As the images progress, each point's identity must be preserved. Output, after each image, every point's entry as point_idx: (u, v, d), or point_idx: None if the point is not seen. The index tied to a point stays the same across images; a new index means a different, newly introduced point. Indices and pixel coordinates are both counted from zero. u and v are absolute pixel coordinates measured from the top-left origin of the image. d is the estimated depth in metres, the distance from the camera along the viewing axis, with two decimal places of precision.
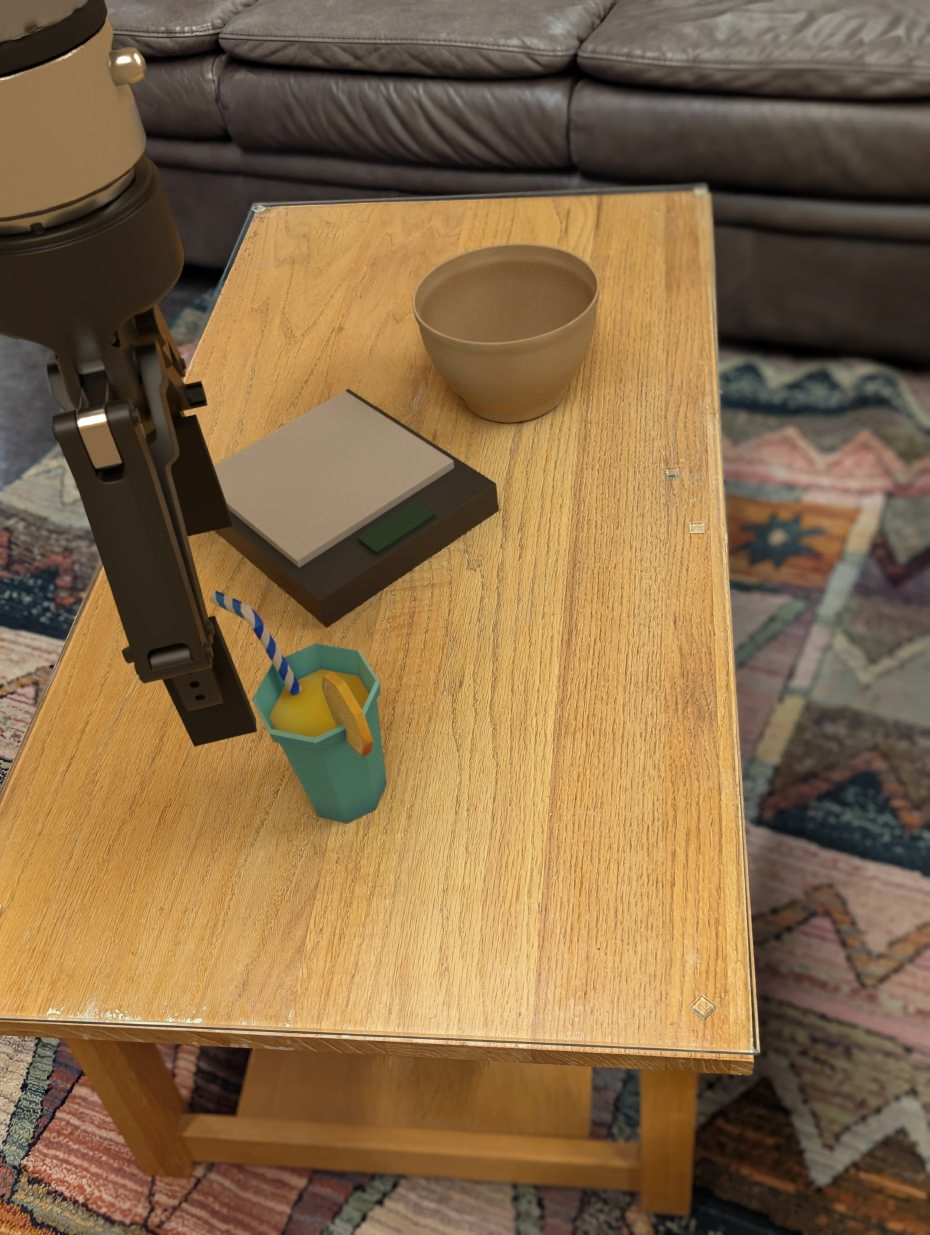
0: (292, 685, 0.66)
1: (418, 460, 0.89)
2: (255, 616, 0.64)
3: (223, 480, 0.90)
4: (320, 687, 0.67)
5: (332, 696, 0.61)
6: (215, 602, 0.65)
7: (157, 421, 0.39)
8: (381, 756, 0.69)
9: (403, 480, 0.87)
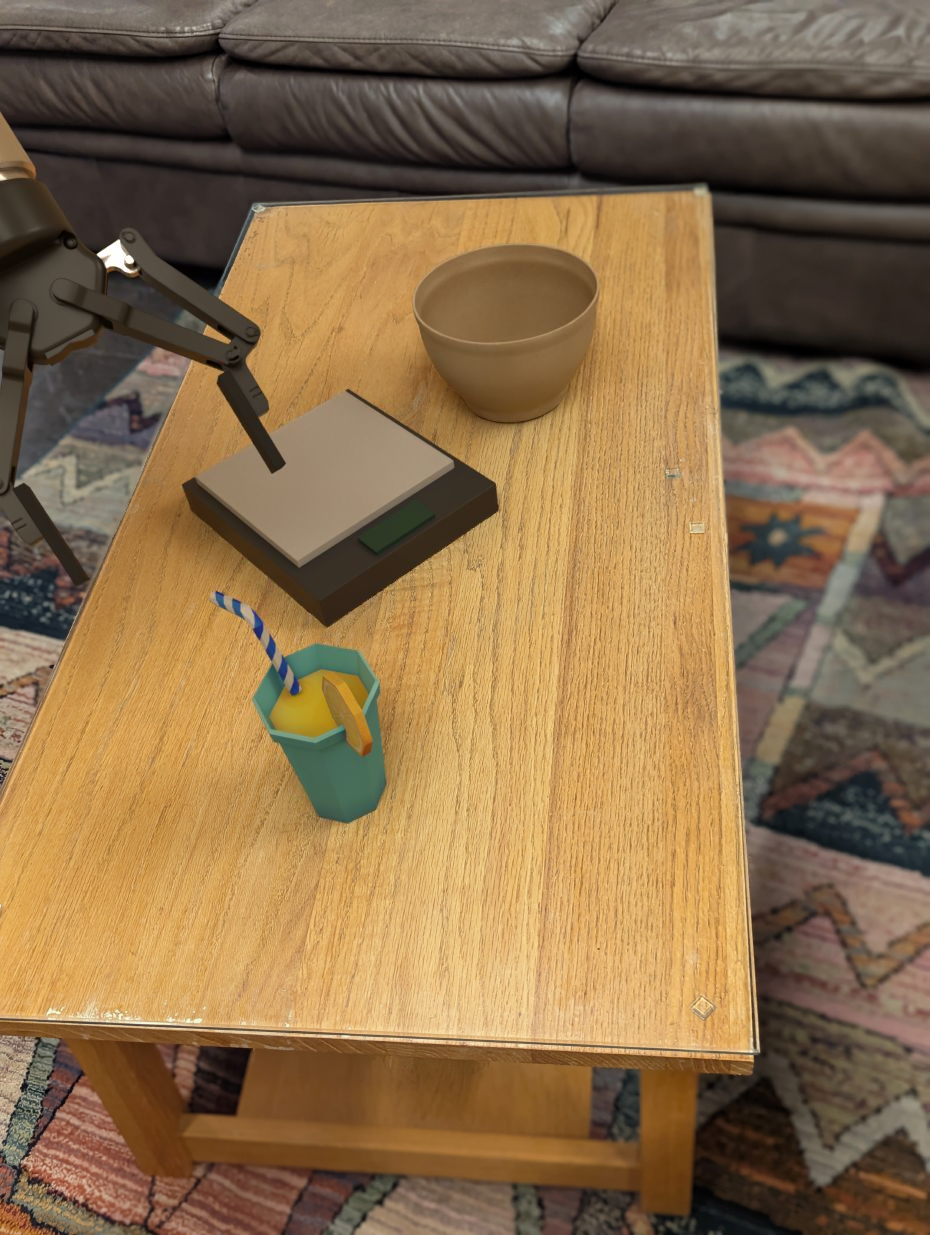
0: (292, 685, 0.66)
1: (418, 460, 0.89)
2: (255, 616, 0.64)
3: (223, 480, 0.90)
4: (320, 687, 0.67)
5: (332, 696, 0.61)
6: (215, 602, 0.65)
7: None
8: (381, 756, 0.69)
9: (403, 480, 0.87)
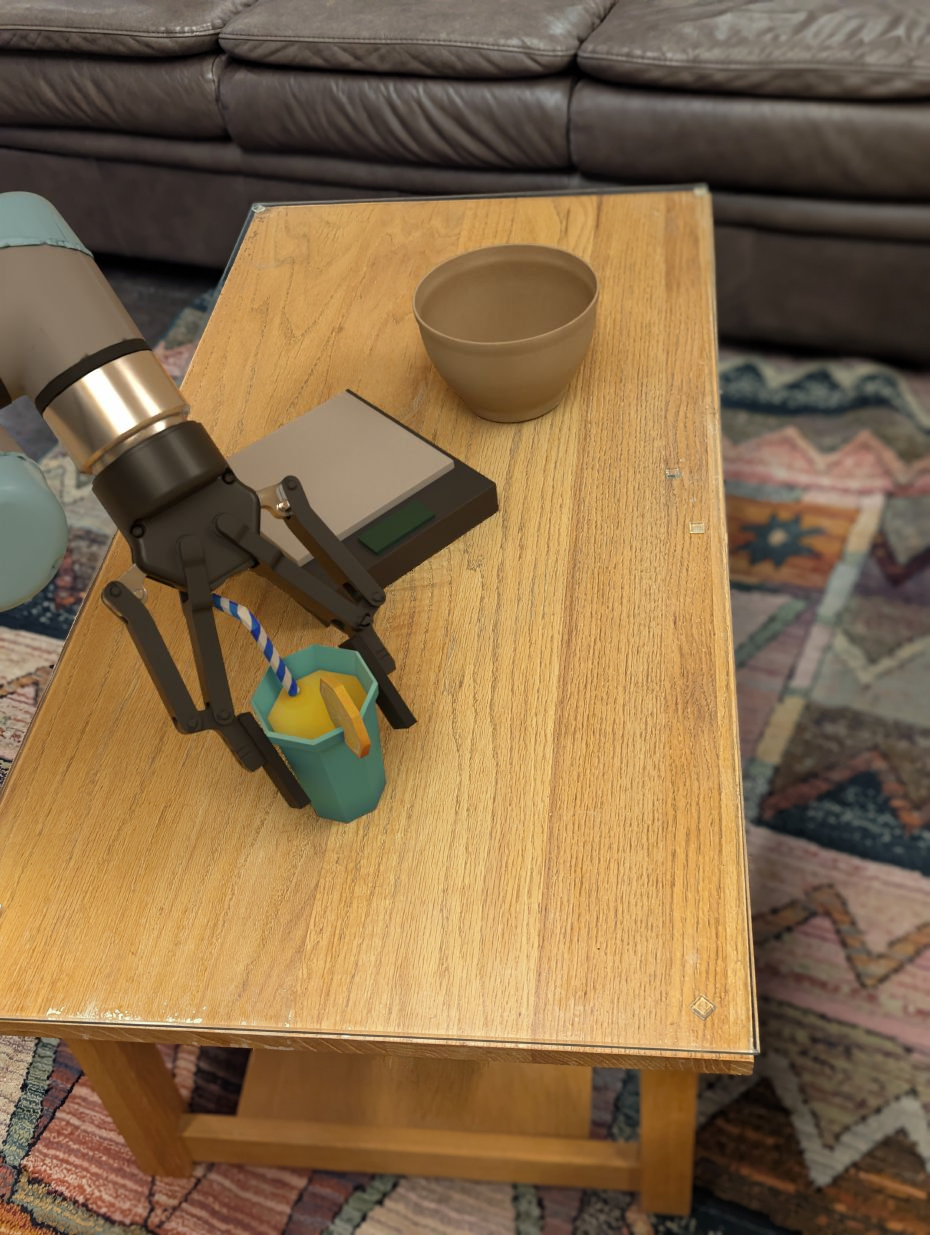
0: (290, 686, 0.66)
1: (418, 460, 0.89)
2: (252, 618, 0.63)
3: None
4: (318, 688, 0.67)
5: (329, 698, 0.61)
6: None
7: None
8: (380, 756, 0.69)
9: (403, 480, 0.87)
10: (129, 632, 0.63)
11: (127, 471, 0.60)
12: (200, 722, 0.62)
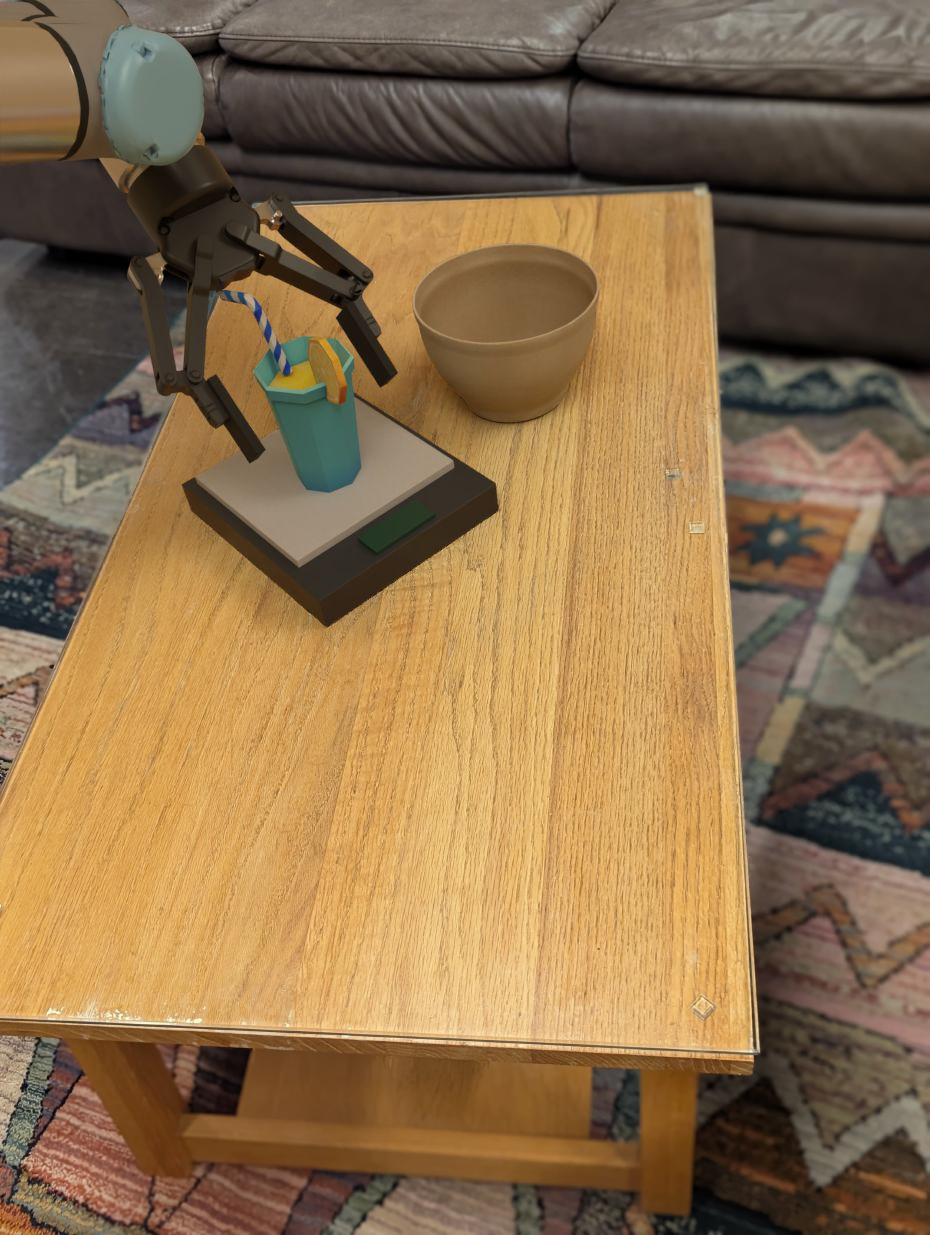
0: (284, 366, 0.83)
1: (418, 460, 0.89)
2: (255, 302, 0.81)
3: (223, 480, 0.90)
4: (307, 371, 0.84)
5: (315, 356, 0.79)
6: (223, 297, 0.82)
7: None
8: (356, 435, 0.86)
9: (403, 480, 0.87)
10: (141, 305, 0.80)
11: (156, 176, 0.77)
12: (176, 379, 0.78)
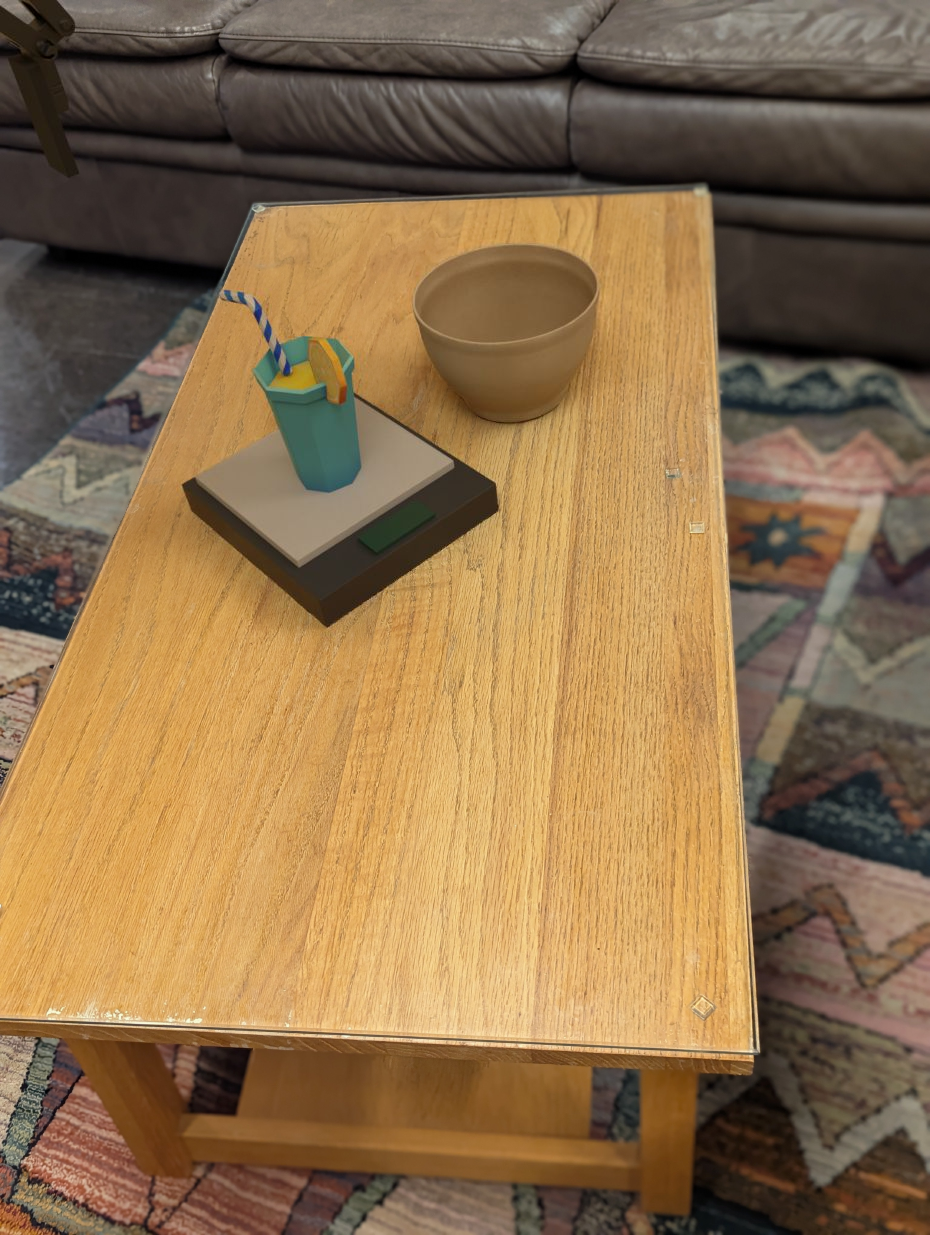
0: (284, 366, 0.83)
1: (418, 460, 0.89)
2: (255, 302, 0.81)
3: (223, 480, 0.90)
4: (307, 371, 0.84)
5: (315, 356, 0.79)
6: (223, 297, 0.82)
7: None
8: (356, 435, 0.86)
9: (403, 480, 0.87)
10: None
11: None
12: None
